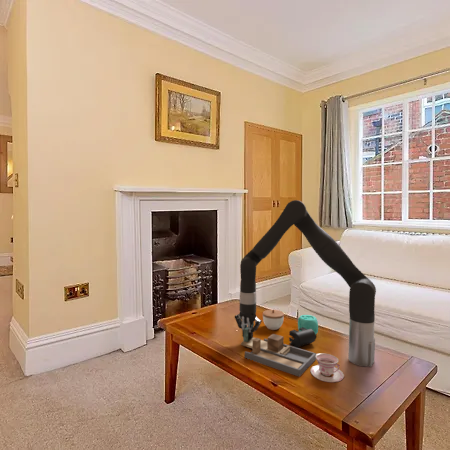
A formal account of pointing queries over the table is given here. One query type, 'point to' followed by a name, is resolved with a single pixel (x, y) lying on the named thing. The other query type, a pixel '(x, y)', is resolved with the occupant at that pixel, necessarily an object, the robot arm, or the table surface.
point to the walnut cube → (275, 342)
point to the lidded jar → (273, 319)
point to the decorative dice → (308, 323)
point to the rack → (294, 354)
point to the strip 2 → (272, 357)
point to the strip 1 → (263, 343)
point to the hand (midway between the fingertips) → (247, 338)
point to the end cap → (302, 337)
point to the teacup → (327, 368)
